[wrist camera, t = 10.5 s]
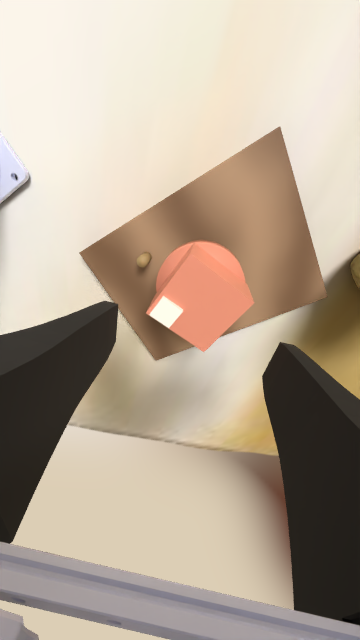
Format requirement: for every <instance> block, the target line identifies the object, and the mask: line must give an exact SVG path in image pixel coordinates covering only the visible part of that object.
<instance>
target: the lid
mask: <svg viewBox="0 0 360 640" xmlns="http://www.w3.org/2000/svg"><path fill="white" fill-rule="evenodd" d="M156 291H157V293H156V295H155V296H154V298H153V300H152V302H151V304H150V306H149V308H148V310H147V312H146V314H148V315H149V316H151V317H152V318H154V319H155V320H157V321H158V322H160V323H161V324H163V325H164V326H166V327H167V328H169V329H170V330H172V331H173V332H175V333H176V334H178V335H179V336H181V337H182V338H184V339H185V340H187V341H188V342H190V343H191V344H193V345H194V346H196V347H197V348H199V349H200V350H202V351H203V352H204V351H205V350H207V349H208V348H209V347H210V346H211V345H212V344H213V343H214V342H215V341H216V340H217V339H218V338H219V337H220V336H221V335H222V334H223V333H224V332H225V331H226V330H227V329H228V328H229V327H230V326H231V325H232V324H233V323H234V322H235V321H236V320H237V319H238V318H239V317H240V316H242V315H243V314H244V313H245V312H246V311H247V310H248V309H249V308H250V307H251V306H252V305H253V304H254V300H253V298H252V295H251V293H250V290H249V287H248V285H247V284H246V283H245V277H244V273H243V270H242V268H241V265H240V263H239V261H238V260H237V258H236V257H235V255H234V254H233V253H232V252H231V251H230V250H229V249H227V248H226V247H224V246H222V245H221V244H219V243H216V242H213V241H207V240H196V241H191V242H187V243H185V244H182V245H181V246H179V247H177V248H176V249H174V250H173V251H172V252H171V253H170V254H169V255H168V257H167V258H166V259H165V261H164V263H163V264H162V266H161V268H160V270H159V272H158V276H157V281H156Z"/></svg>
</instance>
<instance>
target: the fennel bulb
mask: <svg viewBox="0 0 360 640" xmlns="http://www.w3.org/2000/svg"><path fill="white" fill-rule="evenodd" d="M350 269H351V273H352V276H353V279H354V281H355V283H356V286H357V287H358V288H359V289H360V253H359V254H358V255H357V256H356V257H355V258H354V260H353V261H352V262H351V264H350Z"/></svg>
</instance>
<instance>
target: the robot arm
mask: <svg viewBox="0 0 360 640" xmlns="http://www.w3.org/2000/svg"><path fill="white" fill-rule="evenodd" d="M15 174H16V175H17V176H18V180H16V178H15ZM28 179H29V173H28V171H27V169H26V168H25V166H24V165H23V163H22V162H21V161H20V159H19V158H18V156H17V155H16V154H15V152H14V151H13V149H12V148H11V146H10V145H9V144H8V142H7V141H6V139H5V138H4V136H3V135H2V134H1V132H0V203H2V202H3V201H4V200H5V199H6V198H7V197H9V196H10V195H11V194H12V193H13V192H14V191H16V190H17V189H18V188H19V187H20V186H21V185H23V184H24V183H25V182H26V181H27V180H28ZM117 316H118V304H116V303H112V302H107V301H103V302H100V303H97V304H94V305H92V306H89V307H87V308H84V309H82V310H79V311H77V312H74V313H72V314H69V315H67V316H64V317H61V318H58V319H55V320H53V321H50V322H47V323H44V324H41V325H38V326H34V327H31V328H27V329H24V330H20V331H16V332H12V333H8V334H4V335H0V600H3V601H7V602H12V603H16V604H20V605H25V606H29V607H33V608H38V609H42V610H46V611H50V612H55V613H59V614H64V615H67V616H72V617H77V618H80V619H85V620H89V621H94V622H97V623H102V624H106V625H110V626H115V627H119V628H123V629H127V630H132V631H136V632H140V633H145V634H149V635H153V636H157V637H162V638H166V639H171V640H360V400H359V399H358V398H357V397H355V396H354V395H353V394H352V393H350V392H349V391H348V390H347V389H345V388H344V387H343V386H342V385H341V384H340V383H338V382H337V381H336V380H335V379H334V378H332V377H331V376H330V375H329V374H328V373H327V372H326V371H324V370H323V369H322V368H321V367H320V366H319V365H318V364H316V363H315V362H314V361H313V360H312V359H311V358H310V357H308V356H307V355H306V354H305V353H304V352H302V351H301V350H300V349H299V348H297V347H296V346H294V345H291V344H286V343H282V342H280V343H279V345H278V347H277V349H276V351H275V353H274V355H273V357H272V359H271V361H270V362H269V364H268V366H267V368H266V370H265V372H264V374H263V376H262V379H263V390H264V397H265V402H266V406H267V410H268V414H269V418H270V421H271V425H272V429H273V433H274V437H275V441H276V444H277V449H278V453H279V458H280V464H281V470H282V477H283V484H284V491H285V499H286V507H287V515H288V526H289V537H290V548H291V562H292V578H293V594H294V610H291V609H286V608H282V607H278V606H274V605H269V604H264V603H261V602H256V601H252V600H247V599H244V598H239V597H235V596H231V595H227V594H222V593H218V592H214V591H209V590H205V589H200V588H197V587H192V586H188V585H183V584H179V583H175V582H171V581H166V580H162V579H158V578H154V577H149V576H145V575H141V574H137V573H132V572H128V571H124V570H120V569H115V568H111V567H107V566H102V565H98V564H94V563H90V562H85V561H81V560H77V559H73V558H68V557H63V556H60V555H55V554H51V553H47V552H43V551H38V550H34V549H29V548H25V547H21V546H16V545H12V544H10V543H11V542H12V541H13V539H14V537H15V535H16V532H17V530H18V528H19V525H20V523H21V521H22V519H23V516H24V514H25V512H26V510H27V507H28V505H29V503H30V501H31V499H32V496H33V494H34V492H35V490H36V487H37V485H38V483H39V481H40V479H41V477H42V475H43V473H44V470H45V468H46V466H47V464H48V462H49V460H50V458H51V456H52V454H53V452H54V450H55V448H56V446H57V444H58V442H59V440H60V438H61V435H62V434H63V432H64V430H65V428H66V426H67V424H68V422H69V420H70V418H71V416H72V415H73V413H74V411H75V409H76V407H77V406H78V404H79V402H80V401H81V399H82V398H83V396H84V395H85V393H86V392H87V390H88V389H89V387H90V386H91V384H92V382H93V381H94V379H95V378H96V376H97V375H98V373H99V372H100V370H101V369H102V367H103V366H104V364H105V362H106V361H107V359H108V357H109V355H110V353H111V351H112V349H113V346H114V344H115V342H116V330H117ZM0 640H39V638H38V635H37V634H35V633H33V632H32V631H30V630H28V629H27V628H25V626H24V625H23V617H22V616H19V615H16V614H14V613H11V612H8V611H5V610H2V609H0Z"/></svg>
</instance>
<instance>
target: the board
mask: <svg viewBox="0 0 360 640" xmlns="http://www.w3.org/2000/svg"><path fill="white" fill-rule="evenodd" d="M196 240H207V241H213V242H216V243H219V244H221V245H222V246H224V247H226V248H227V249H229V250H230V251H231V252H232V253H233V254H234V255H235V257H236V258H237V260H238V261H239V263H240V265H241V268H242V270H243V273H244V277H245V283H246V284H247V285H248V287H249V290H250V293H251V295H252V298H253V300H254V304H253V305H252V306H251V307H250V308H249V309H248V310H247V311H246V312H245V313H244V314H243V315H242V316H240V317H239V318H238V319H237V320H236V321H235V322H234V323H233V324H232V325H231V326H230V327H229V328H228V329H227V330H226V331H225V332H224V333H223V334H222V335H221V336H224V335H226V334H229V333H232V332H234V331H237V330H240V329H243V328H245V327H248V326H251V325H253V324H256V323H259V322H261V321H264V320H267V319H270V318H272V317H275V316H278V315H280V314H283V313H286V312H288V311H291V310H294V309H297V308H299V307H302V306H305V305H307V304H310V303H313V302H315V301H318V300H321V299H324V298H326V297H327V293H326V290H325V286H324V282H323V279H322V275H321V272H320V268H319V265H318V261H317V257H316V254H315V250H314V247H313V243H312V239H311V236H310V232H309V229H308V225H307V221H306V218H305V214H304V211H303V207H302V203H301V200H300V196H299V193H298V189H297V185H296V182H295V178H294V175H293V171H292V167H291V164H290V160H289V157H288V153H287V150H286V146H285V142H284V139H283V135H282V132H281V128H280V127H278V128H276V129H275V130H273V131H272V132H270V133H269V134H267V135H265V136H264V137H262V138H261V139H259V140H257V141H256V142H254V143H253V144H251V145H249V146H248V147H246V148H245V149H243V150H242V151H240V152H238V153H237V154H235V155H234V156H232V157H230V158H229V159H227V160H226V161H224V162H223V163H221V164H219V165H218V166H216V167H215V168H213V169H211V170H210V171H208V172H207V173H205V174H203V175H202V176H200V177H199V178H197V179H196V180H194V181H192V182H191V183H189V184H188V185H186V186H184V187H183V188H181V189H180V190H178V191H177V192H175V193H173V194H172V195H170V196H169V197H167V198H165V199H164V200H162V201H161V202H159V203H157V204H156V205H154V206H153V207H151V208H150V209H148V210H146V211H145V212H143V213H142V214H140V215H138V216H137V217H135V218H134V219H132V220H131V221H129V222H127V223H126V224H124V225H123V226H121V227H119V228H118V229H116V230H115V231H113V232H111V233H110V234H108V235H107V236H105V237H104V238H102V239H100V240H99V241H97V242H96V243H94V244H92V245H91V246H89V247H88V248H86V249H85V250H83V251H81V252H80V255H81V256H82V257H83V259H84V260H85V262H86V263H87V264H88V266H89V267H90V269H91V270H92V271H93V273H94V274H95V276H96V277H97V278H98V280H99V281H100V283H101V284H102V285H103V287H104V288H105V290H106V291H107V292H108V294H109V295H110V297H111V298H112V300H113V301H114V302H115V303H116V304H118V308H119V309H120V311H121V312H122V314H123V315H124V316H125V318H126V319H127V321H128V322H129V323H130V325H131V326H132V328H133V329H134V330H135V332H136V333H137V335H138V336H139V337H140V339H141V340H142V342H143V343H144V344H145V346H146V347H147V349H148V350H149V351H150V353H151V354H152V356H153V357H154V358H155V360H159V359H162V358H164V357H167V356H170V355H172V354H175V353H178V352H180V351H183V350H186V349H189V348H191V347H194V345H193V344H191V343H190V342H188V341H187V340H185V339H184V338H182V337H181V336H179V335H178V334H176V333H175V332H173V331H172V330H170V329H169V328H167V327H166V326H164V325H163V324H161V323H160V322H158V321H157V320H155V319H154V318H152V317H151V316H149V315H148V314H146V312H147V310H148V308H149V306H150V304H151V302H152V300H153V298H154V296H155V295H156V293H157V291H156V281H157V276H158V272H159V270H160V268H161V266H162V264H163V263H164V261H165V259H166V258H167V257H168V255H169V254H170V253H171V252H172V251H173V250H174V249H176V248H177V247H179V246H181V245H182V244H185V243H187V242H191V241H196ZM221 336H220V337H221Z"/></svg>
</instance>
